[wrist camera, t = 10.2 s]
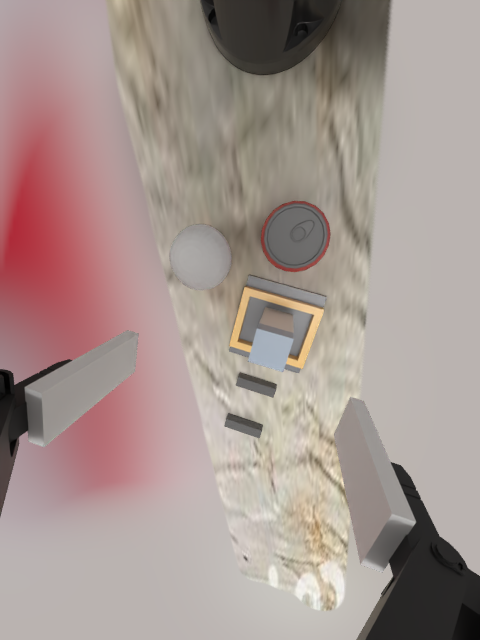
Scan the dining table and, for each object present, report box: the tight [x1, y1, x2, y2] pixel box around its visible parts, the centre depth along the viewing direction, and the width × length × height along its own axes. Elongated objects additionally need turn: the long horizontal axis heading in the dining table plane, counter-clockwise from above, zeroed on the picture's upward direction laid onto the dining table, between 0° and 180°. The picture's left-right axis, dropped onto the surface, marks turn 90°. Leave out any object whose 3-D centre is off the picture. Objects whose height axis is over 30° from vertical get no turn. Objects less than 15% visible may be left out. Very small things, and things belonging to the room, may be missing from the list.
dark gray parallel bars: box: [224, 373, 277, 438], centre depth 42 cm, size 10×6×2 cm, turn 166°
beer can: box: [261, 201, 330, 272], centre depth 29 cm, size 7×7×12 cm
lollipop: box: [170, 224, 232, 290], centre depth 29 cm, size 6×6×15 cm
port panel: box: [229, 275, 327, 373], centre depth 37 cm, size 12×11×2 cm
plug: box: [248, 307, 294, 372], centre depth 33 cm, size 4×4×10 cm
